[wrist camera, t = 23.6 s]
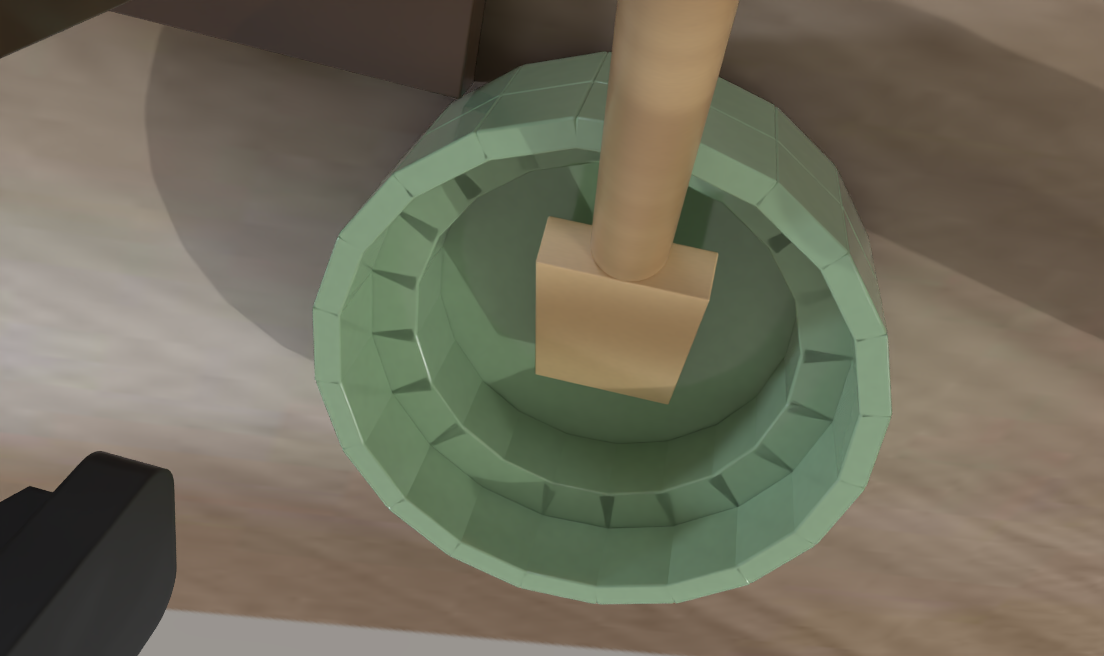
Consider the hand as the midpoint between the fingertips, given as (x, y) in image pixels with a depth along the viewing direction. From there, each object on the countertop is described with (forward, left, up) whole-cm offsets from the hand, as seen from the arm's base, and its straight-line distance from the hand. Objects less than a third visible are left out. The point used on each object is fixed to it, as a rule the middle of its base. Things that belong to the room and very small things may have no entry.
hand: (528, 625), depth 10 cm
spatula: (+1, -1, -13) cm, 13 cm away
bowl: (+6, -5, -21) cm, 22 cm away
